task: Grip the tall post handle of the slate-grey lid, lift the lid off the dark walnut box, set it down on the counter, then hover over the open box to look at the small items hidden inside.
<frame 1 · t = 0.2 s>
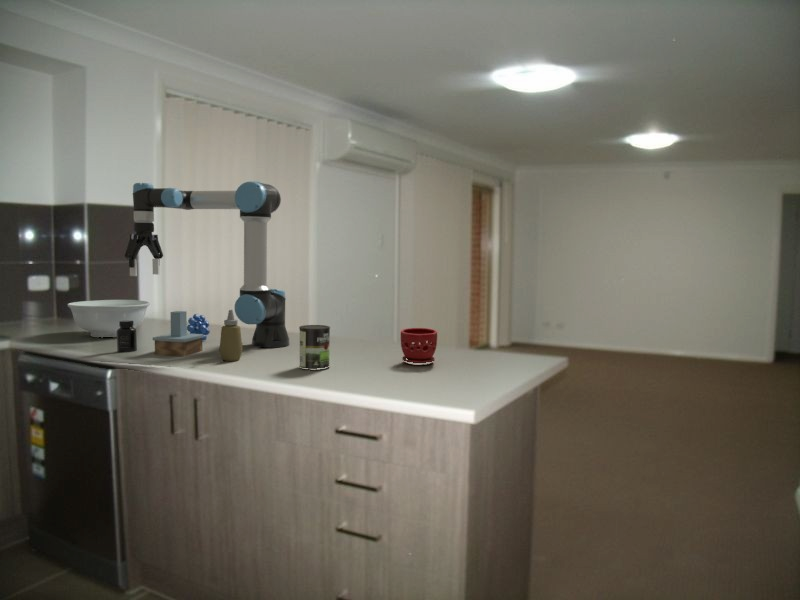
hand: (145, 275, 250), 28 cm above the worktop, tool pointing down, fingers open, 13 cm apart
coffee can: (314, 368, 210), on the worktop
box: (179, 354, 229), on the worktop
squeeze bottle: (231, 360, 221), on the worktop
grapes: (200, 342, 257), on the worktop
bowl: (110, 335, 271), on the worktop
plant pot: (418, 364, 221), on the worktop
lid: (178, 338, 228), point 6 cm above the worktop, touching box
supplement bottle: (127, 353, 231), on the worktop
ball a: (170, 353, 227), point 1 cm above the worktop, touching box
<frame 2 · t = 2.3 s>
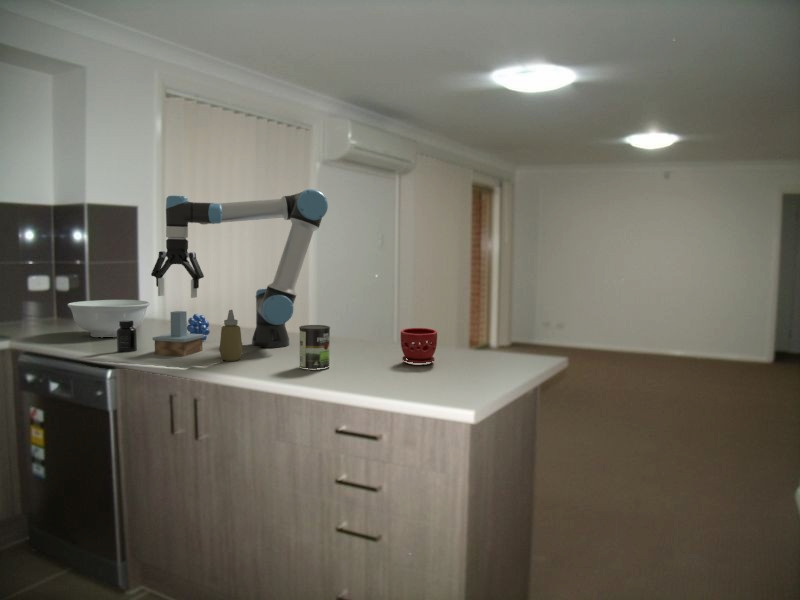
hand: (177, 296, 227), 22 cm above the worktop, tool pointing down, fingers open, 13 cm apart
nothing on the worktop moved.
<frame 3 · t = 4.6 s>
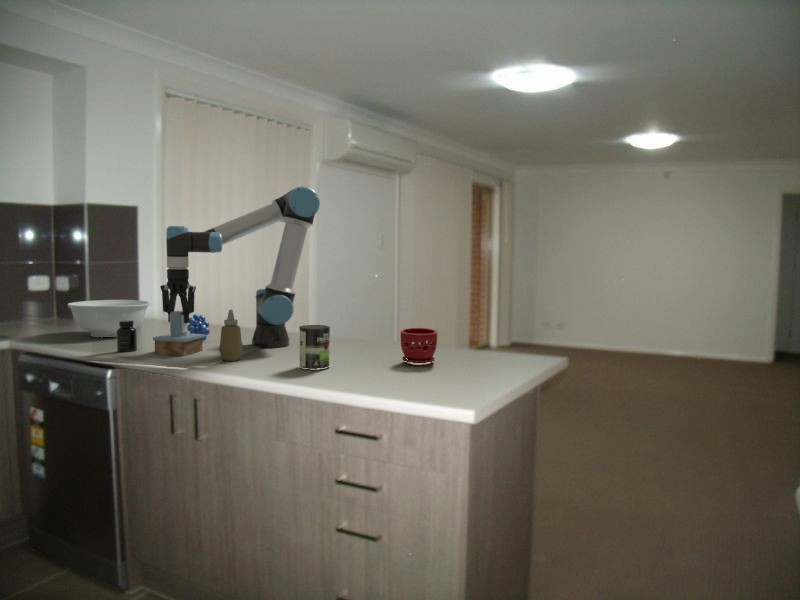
hand: (178, 331, 228), 9 cm above the worktop, tool pointing down, fingers closed on lid, 4 cm apart
lid: (178, 338, 228), point 6 cm above the worktop, touching box, gripper
everything else where it was.
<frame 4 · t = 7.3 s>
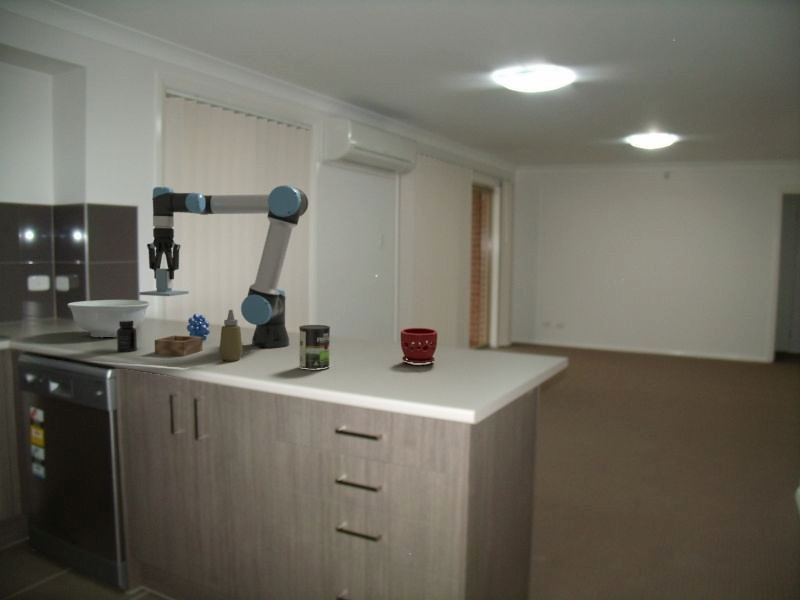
hand: (164, 287, 242), 24 cm above the worktop, tool pointing down, fingers closed on lid, 4 cm apart
lid: (164, 294, 242), point 21 cm above the worktop, touching gripper
everything else where it was.
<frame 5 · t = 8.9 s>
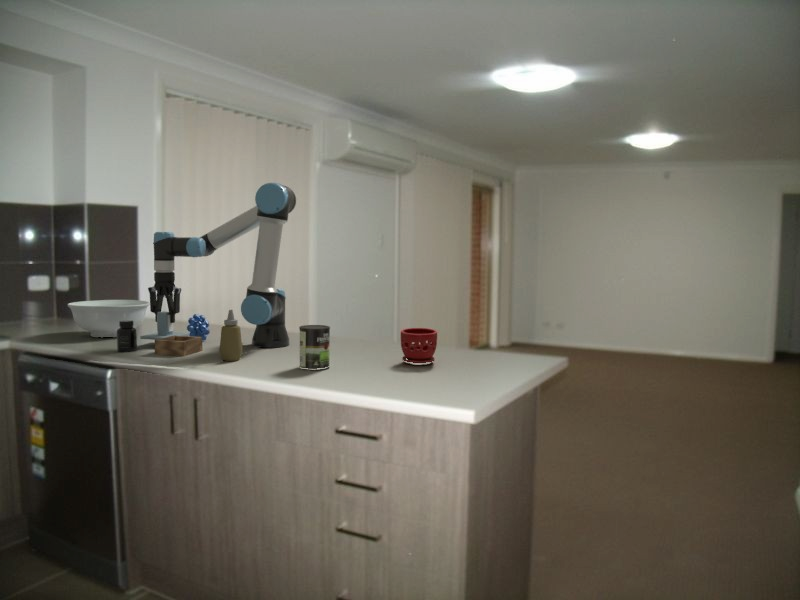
hand: (165, 330, 243), 7 cm above the worktop, tool pointing down, fingers closed on lid, 4 cm apart
lid: (165, 337, 244), point 4 cm above the worktop, touching gripper
everything else where it was.
when the fingers open (4 cm above the worktop, at t = 10.1 s): lid drops 1 cm, on the worktop.
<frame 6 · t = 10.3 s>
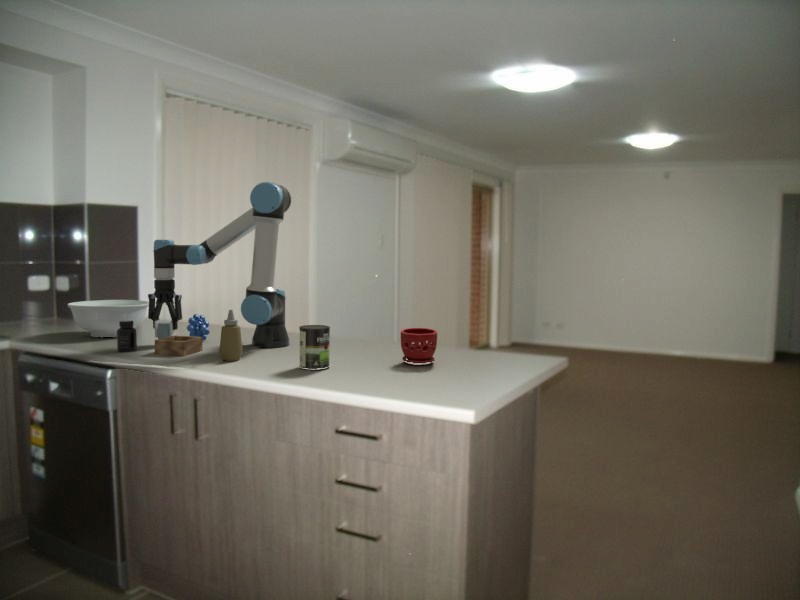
hand: (165, 337, 244), 4 cm above the worktop, tool pointing down, fingers open, 6 cm apart
lid: (165, 348, 244), on the worktop
everything else where it was.
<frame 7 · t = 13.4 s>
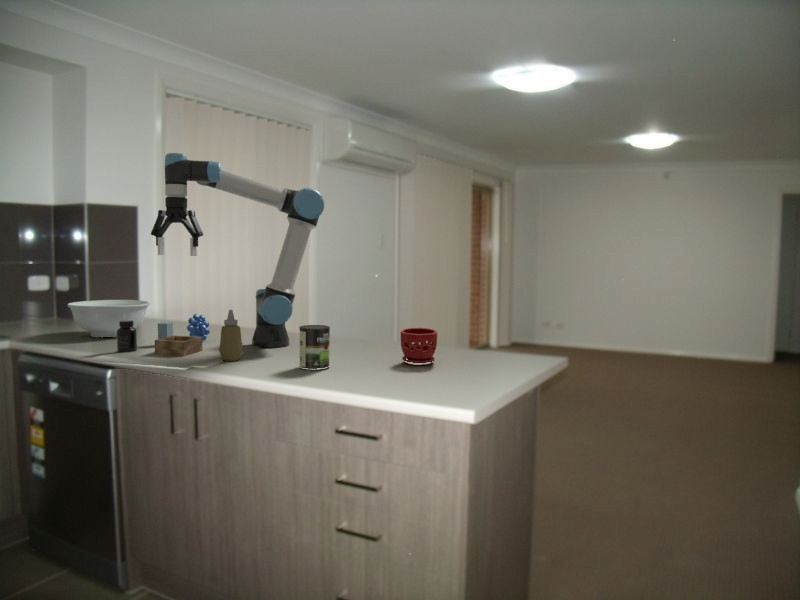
hand: (177, 255, 226), 37 cm above the worktop, tool pointing down, fingers open, 13 cm apart
nothing on the worktop moved.
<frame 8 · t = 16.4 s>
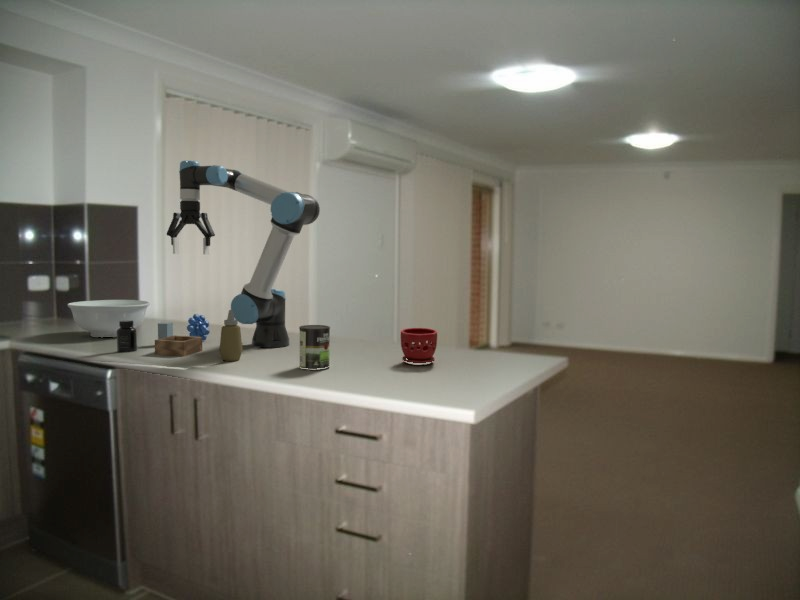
hand: (190, 254, 248), 37 cm above the worktop, tool pointing down, fingers open, 13 cm apart
nothing on the worktop moved.
at the end: lid inside the target area (0.1 cm from its centre), on the worktop; lid touching worktop; the gripper is holding nothing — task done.
